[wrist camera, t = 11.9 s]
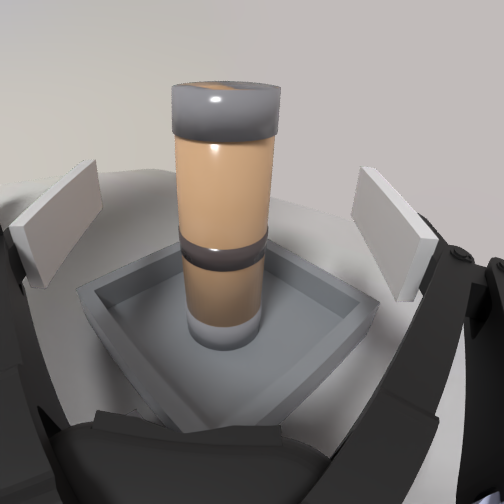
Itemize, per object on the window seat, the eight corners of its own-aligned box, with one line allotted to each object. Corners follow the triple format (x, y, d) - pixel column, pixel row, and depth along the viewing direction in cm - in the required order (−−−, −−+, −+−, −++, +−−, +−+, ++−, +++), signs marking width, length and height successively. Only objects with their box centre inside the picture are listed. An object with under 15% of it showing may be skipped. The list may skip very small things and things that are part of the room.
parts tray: (87, 320, 21) (75, 288, 19) (231, 248, 29) (231, 219, 27) (213, 477, 13) (209, 460, 11) (367, 333, 21) (380, 302, 19)
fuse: (173, 319, 20) (152, 86, 12) (226, 289, 23) (231, 80, 15) (220, 363, 17) (218, 92, 10) (274, 324, 20) (303, 89, 12)
